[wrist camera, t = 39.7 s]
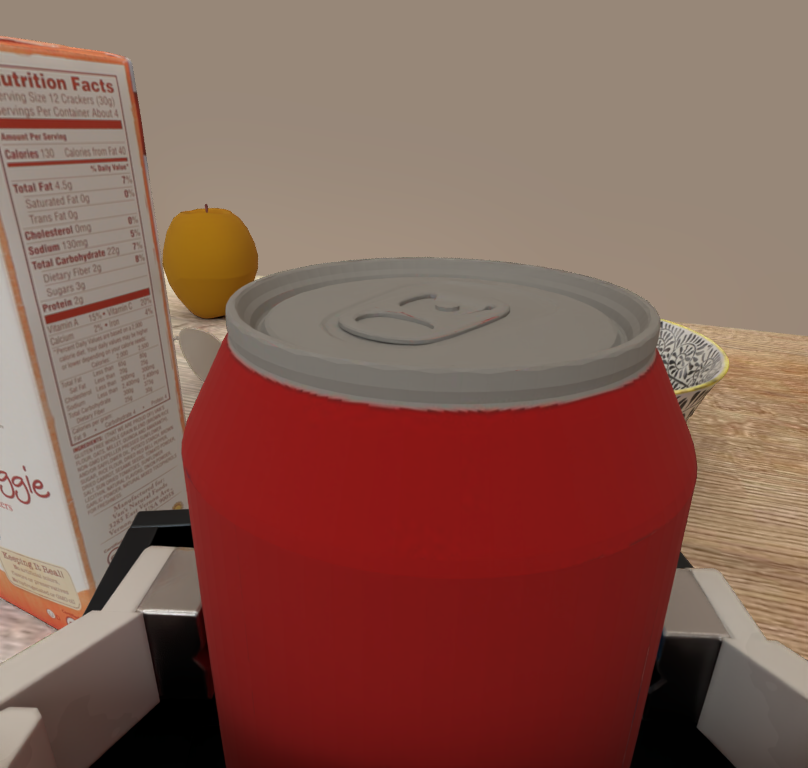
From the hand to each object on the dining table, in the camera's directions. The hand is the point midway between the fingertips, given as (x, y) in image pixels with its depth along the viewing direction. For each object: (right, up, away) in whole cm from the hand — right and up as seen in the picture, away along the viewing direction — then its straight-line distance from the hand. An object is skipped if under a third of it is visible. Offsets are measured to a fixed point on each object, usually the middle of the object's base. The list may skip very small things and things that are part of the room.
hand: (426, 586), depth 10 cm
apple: (-21, +11, +54) cm, 59 cm away
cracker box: (-17, -5, +17) cm, 24 cm away
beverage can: (0, -7, +2) cm, 7 cm away
